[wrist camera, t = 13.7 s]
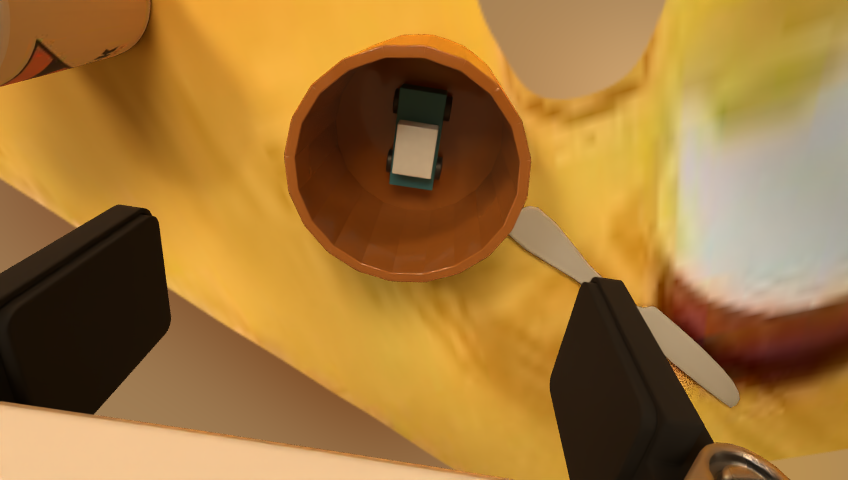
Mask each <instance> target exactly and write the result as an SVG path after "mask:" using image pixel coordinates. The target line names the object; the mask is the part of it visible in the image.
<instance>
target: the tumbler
mask: <svg viewBox="0 0 848 480" xmlns="http://www.w3.org/2000/svg"><path fill="white" fill-rule="evenodd" d="M402 84H410V85H417V86H423V87H429V88H436V89H442V90H447V91H448V92H447V96H451V97H453V100H452V107H451V113H450V119H449V121H443V125H442V132H441V138H440V144H439V151H438V157H442V158H443V161H442V168H441V175H440V179H439V180H435V179H434V182H433V189H432V190H425V189H418V188H412V187H405V186H399V185H392V184H389V179H390V173H389V172H386V163H387V156H388V151H389V149H393V144H394V135H395V127H396V118H397V114H396V113H393V99H394V93H395V90H396V88H399V89H400V87H401V86H402ZM284 155H285V156H284V159H285V167H286V175H287V183H288V191H289V194H290V196H291V198H292V200H293V203H294V205H295V207H296V209H297V211H298V213H299V215H300V218H301V220H302V222H303V224H304V225H305V227H306V228H307V229H308V230H309V231H310V232H311V234H312V235H313V236H314V237H315V238H316V239H317V240H318V242H319V243H320V244H321V245H322V246H323V247H324V248H325V249H326V251H328V252H329V253H330V254H332V255H333V256H335V257H336V258H338V259H340V260H341V261H343V262H344V263H346V264H347V265H349V266H350V267H352V268H354V269H355V270H358V271H359V272H362V273H366V274H369V275H372V276H375V277H379V278H382V279H385V280H388V281H399V282H428V281H432V280H436V279H440V278H444V277H448V276H452V275H456V274H458V273H461V272H463V271H464V270H466V269H468V268H469V267H471V266H473V265H475V264H476V263H478V262H480V261H481V260H483V259H485V258H486V257H488V256H489V255H490V254H491V253H492V252H493V251H494V250H495V249H496V248H497V247H498V246H499V244H500V243H501V242H502V241H503V240H504V239H505V238H506V237H507V236H508V235H509V233H510V232H511V231H512V229H513V228H514V226H515V224H516V221H517V219H518V217H519V215H520V212H521V210H522V208H523V206H524V204H525V201H526V199H527V196H528V187H529V177H530V167H531V156H530V152H529V148H528V144H527V139H526V135H525V131H524V127H523V122H522V120H521V118H520V117H519V115H518V113H517V112H516V110H515V108H514V107H513V105H512V103H511V102H510V100H509V98H508V97H507V95H506V93H505V92H504V90H503V88H502V87H501V85H500V84H499V82H498V81H497V79H496V77H495V76H494V74H493V73H492V71H491V69H490V68H489V66H488V65H487V64H486V63H485V62H483V61H482V60H481V59H480V58H479V57H478V56H476V55H475V54H474V53H472V52H471V51H470V50H468V49H467V48H466V47H465V46H463V45H461V44H458V43H456V42H453V41H451V40H448V39H445V38H442V37H438V36H436V35H421V34H417V35H401V36H398V37H395V38H392V39H389V40H386V41H384V42H381V43H378V44H375V45H373V46H371V47H368V48H366V49H364V50H362V51H359V52H357V53H355V54H353V55H351V56H348V57H346V58H344V59H342V60H341V61H340V62H338V63H337V64H336V65H335V66H334V67H332V68H331V69H330V70H329V71H327V72H326V73H325V74H324V75H323V76H321V77H320V78H319V79H318V80H316V81H315V82H314V83H313V84H312V85H311V86H310V88H309V90H308V91H307V93H306V95H305V96H304V98H303V100H302V101H301V103H300V105H299V106H298V108H297V110H296V111H295V113H294V115H293V116H292V119H291V123H290V128H289V133H288V138H287V143H286V148H285V153H284Z"/></svg>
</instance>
